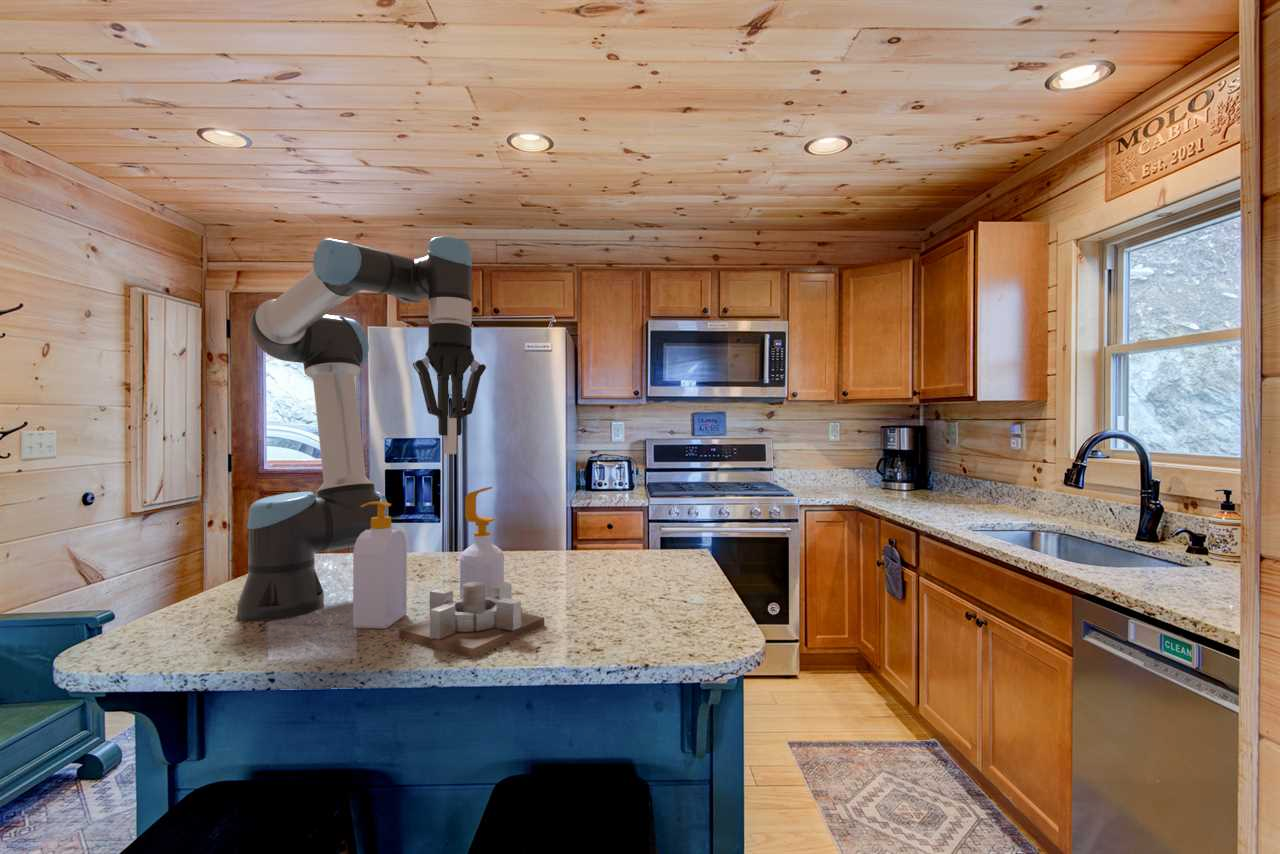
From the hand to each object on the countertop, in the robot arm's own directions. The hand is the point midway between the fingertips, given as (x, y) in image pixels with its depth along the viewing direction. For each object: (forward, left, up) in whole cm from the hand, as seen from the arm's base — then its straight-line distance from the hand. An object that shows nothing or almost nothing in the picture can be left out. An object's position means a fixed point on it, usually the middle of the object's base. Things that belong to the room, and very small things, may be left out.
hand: (450, 453), depth 107 cm
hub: (+4, +2, -32) cm, 33 cm away
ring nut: (+4, +2, -31) cm, 31 cm away
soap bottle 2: (-8, +16, -33) cm, 37 cm away
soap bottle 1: (-16, -3, -33) cm, 36 cm away
